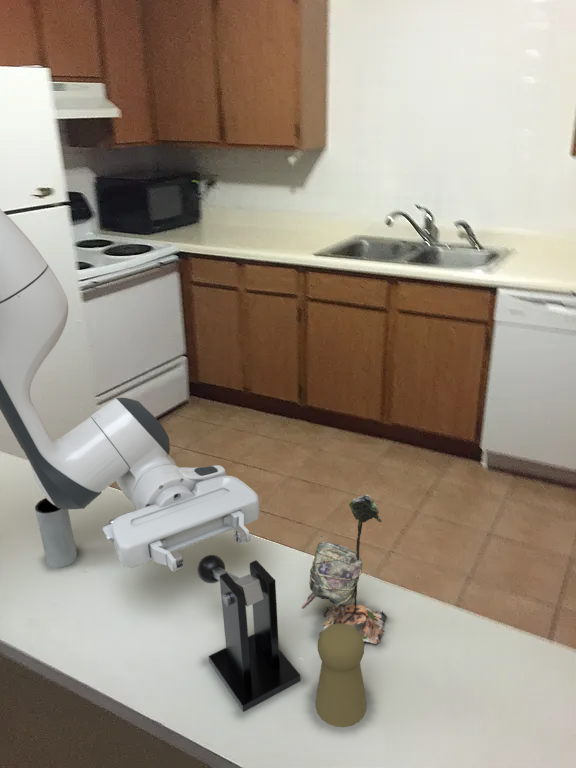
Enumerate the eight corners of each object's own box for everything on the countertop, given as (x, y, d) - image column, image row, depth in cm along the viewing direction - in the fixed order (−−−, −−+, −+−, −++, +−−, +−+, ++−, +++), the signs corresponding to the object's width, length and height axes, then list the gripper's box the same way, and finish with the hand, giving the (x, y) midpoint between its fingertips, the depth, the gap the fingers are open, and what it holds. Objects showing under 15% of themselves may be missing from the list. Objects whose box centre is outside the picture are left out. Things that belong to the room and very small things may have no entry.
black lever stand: (209, 662, 85) (198, 569, 79) (263, 636, 88) (257, 545, 82) (243, 713, 78) (235, 615, 72) (300, 682, 81) (297, 586, 75)
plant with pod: (318, 594, 95) (316, 474, 87) (394, 618, 91) (399, 493, 82) (293, 632, 89) (288, 506, 81) (373, 661, 84) (376, 530, 76)
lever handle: (197, 584, 88) (190, 558, 88) (221, 573, 90) (215, 548, 90) (243, 614, 76) (235, 584, 75) (270, 601, 78) (263, 572, 77)
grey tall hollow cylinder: (83, 555, 105) (72, 500, 101) (61, 572, 102) (49, 516, 97) (62, 547, 107) (51, 492, 103) (40, 563, 104) (28, 508, 99)
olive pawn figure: (370, 690, 80) (372, 619, 75) (362, 733, 75) (363, 660, 70) (321, 680, 82) (320, 610, 77) (309, 722, 76) (307, 650, 72)
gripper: (94, 506, 89) (130, 561, 78) (230, 461, 99) (279, 505, 88) (101, 544, 92) (137, 603, 81) (233, 497, 102) (280, 544, 91)
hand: (212, 551), depth 85 cm, fingers open, 8 cm apart
